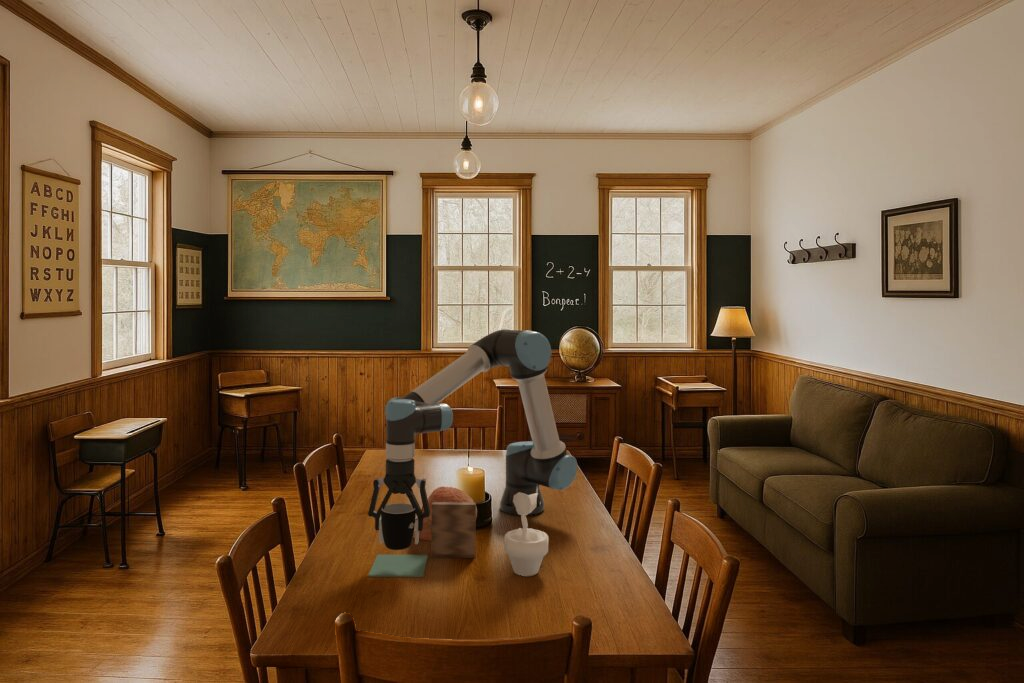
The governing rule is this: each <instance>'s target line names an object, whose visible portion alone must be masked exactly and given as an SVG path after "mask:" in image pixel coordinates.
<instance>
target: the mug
mask: <svg viewBox="0 0 1024 683" xmlns="http://www.w3.org/2000/svg"><path fill="white" fill-rule="evenodd" d="M416 517H417V515H416V508H414V509H413V507H412V504H411V503H404V502H403V503H402V502H401V503H399V502H396V503H395V502H394V503H389V504H386V506H385V508H384V510H383V507H382V508H381V523H382V534H383V543H384V546H385V548H387V549H388V550H393V551H400V550H401V551H402V550H406V549H408V548H409V547H410V546H411V545H412V543H413V539H414V531H415V519H416Z"/></svg>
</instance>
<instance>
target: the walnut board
mask: <svg viewBox="0 0 1024 683" xmlns="http://www.w3.org/2000/svg"><path fill="white" fill-rule="evenodd" d="M476 507H477V503H476V502H474V503H468V502H433V503H432V541H431V551H430V552H431V554H430V555H431V558H433V559H435V558H437V559H440V558H442V559H448V558H449V559H475V558H476V526H477V525H476V520H477V517H476Z"/></svg>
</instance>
